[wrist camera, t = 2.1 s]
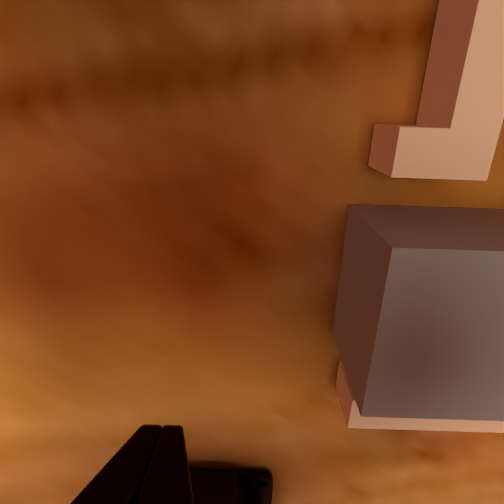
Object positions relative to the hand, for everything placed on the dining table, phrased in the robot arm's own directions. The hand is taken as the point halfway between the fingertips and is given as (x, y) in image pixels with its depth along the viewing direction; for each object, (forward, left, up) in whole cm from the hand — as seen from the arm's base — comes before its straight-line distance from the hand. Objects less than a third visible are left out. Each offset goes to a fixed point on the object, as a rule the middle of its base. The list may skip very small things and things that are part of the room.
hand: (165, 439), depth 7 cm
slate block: (0, -9, -9) cm, 13 cm away
